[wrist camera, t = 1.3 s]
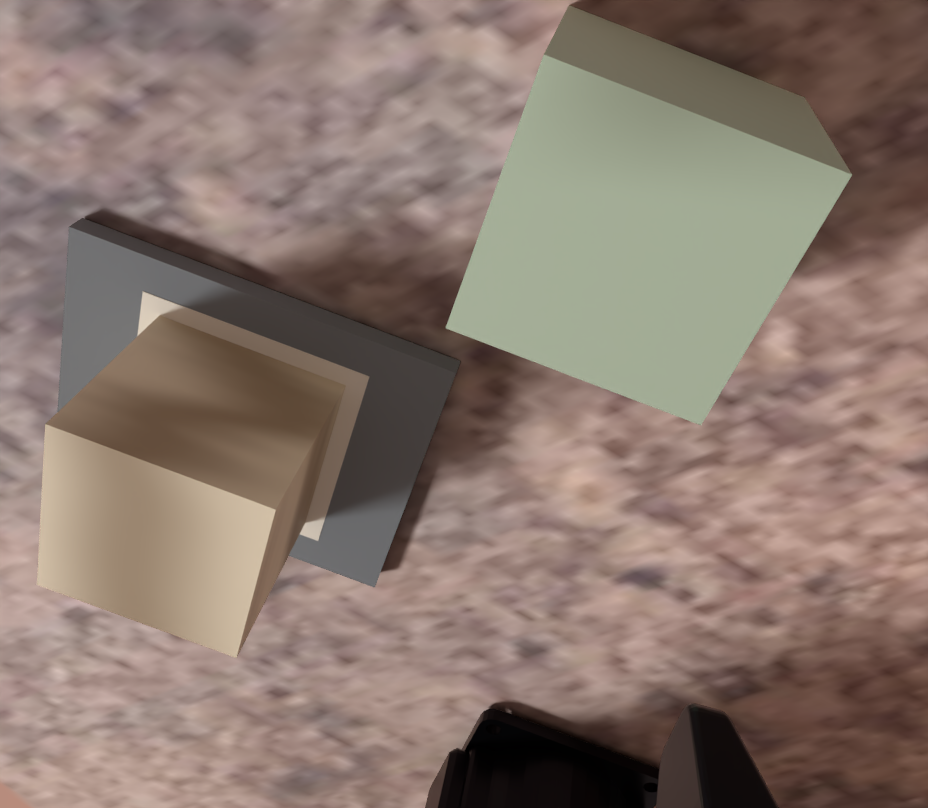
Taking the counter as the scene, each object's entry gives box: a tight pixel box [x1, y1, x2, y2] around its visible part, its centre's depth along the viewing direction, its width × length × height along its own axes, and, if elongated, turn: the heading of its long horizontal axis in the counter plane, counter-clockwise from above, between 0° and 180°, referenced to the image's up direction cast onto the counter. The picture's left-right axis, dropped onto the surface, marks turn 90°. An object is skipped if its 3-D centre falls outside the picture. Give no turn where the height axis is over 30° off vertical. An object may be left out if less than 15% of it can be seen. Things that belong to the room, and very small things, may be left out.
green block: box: [446, 5, 852, 425], centre depth 17 cm, size 5×5×5 cm
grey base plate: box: [58, 218, 461, 587], centre depth 24 cm, size 10×8×1 cm
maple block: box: [37, 315, 346, 658], centre depth 21 cm, size 5×5×5 cm
